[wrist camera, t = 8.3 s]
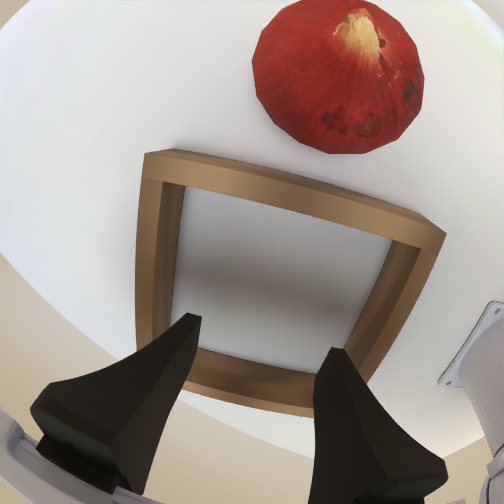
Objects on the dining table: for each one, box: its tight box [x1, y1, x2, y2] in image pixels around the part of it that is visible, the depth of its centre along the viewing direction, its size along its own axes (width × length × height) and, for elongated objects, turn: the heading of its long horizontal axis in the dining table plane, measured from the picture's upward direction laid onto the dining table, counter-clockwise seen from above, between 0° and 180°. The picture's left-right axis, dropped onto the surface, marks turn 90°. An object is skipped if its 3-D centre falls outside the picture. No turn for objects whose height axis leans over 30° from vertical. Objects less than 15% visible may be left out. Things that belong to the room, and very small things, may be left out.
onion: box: [252, 0, 424, 154], centre depth 8 cm, size 6×6×8 cm
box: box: [135, 149, 447, 418], centre depth 14 cm, size 13×13×3 cm
